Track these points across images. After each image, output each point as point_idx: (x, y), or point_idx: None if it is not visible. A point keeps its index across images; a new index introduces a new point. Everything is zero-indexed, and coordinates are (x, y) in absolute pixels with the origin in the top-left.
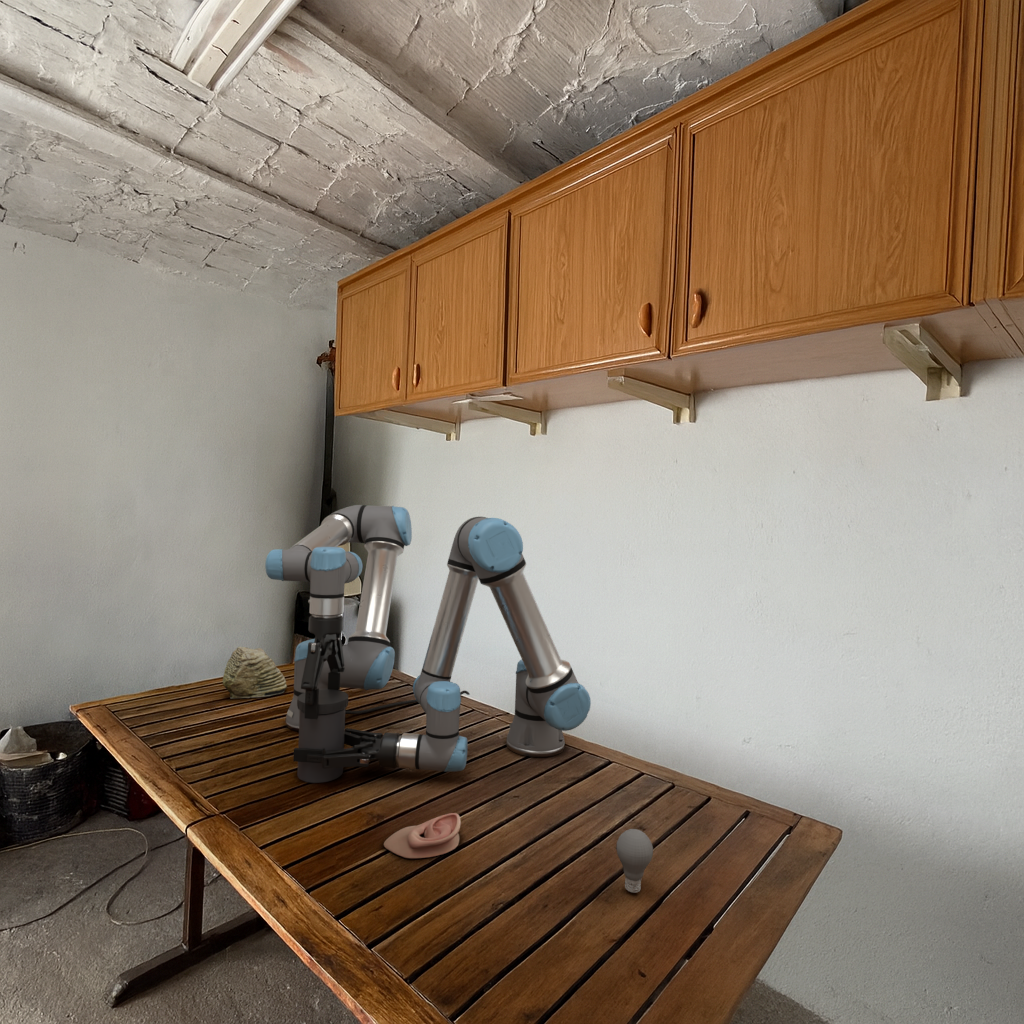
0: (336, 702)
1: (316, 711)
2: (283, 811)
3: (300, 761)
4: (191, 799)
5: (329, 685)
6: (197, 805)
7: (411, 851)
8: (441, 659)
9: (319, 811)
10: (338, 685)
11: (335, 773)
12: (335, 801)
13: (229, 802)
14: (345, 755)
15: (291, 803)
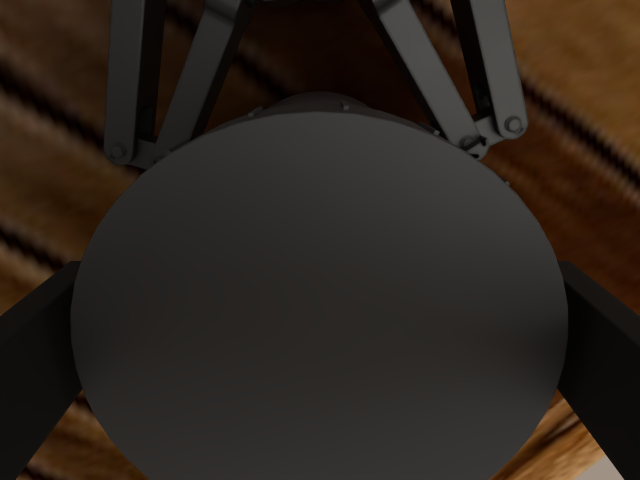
0: (492, 173)
1: (607, 291)
2: (624, 183)
3: None
4: (542, 447)
5: (42, 423)
6: (577, 419)
7: None
8: None
9: (631, 57)
10: (12, 340)
11: (363, 103)
12: (551, 25)
13: None
14: (494, 14)
15: (567, 182)
